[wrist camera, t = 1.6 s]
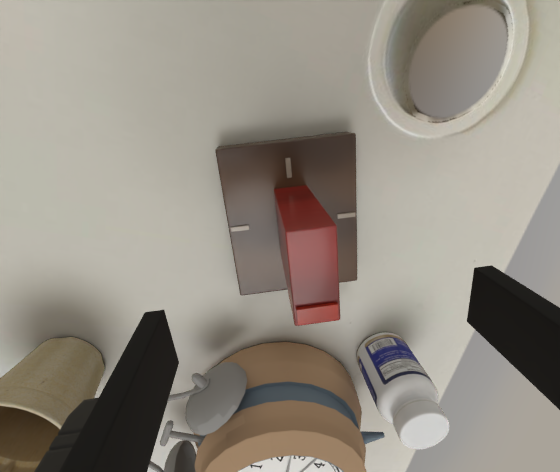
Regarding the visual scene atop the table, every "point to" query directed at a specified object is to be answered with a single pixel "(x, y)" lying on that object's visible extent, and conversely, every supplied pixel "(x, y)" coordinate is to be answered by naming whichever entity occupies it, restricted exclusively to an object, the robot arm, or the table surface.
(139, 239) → the table surface
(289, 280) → the red rectangular block
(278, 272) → the base plate
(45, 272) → the table surface
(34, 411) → the flower pot
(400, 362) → the pill bottle
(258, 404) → the alarm clock
